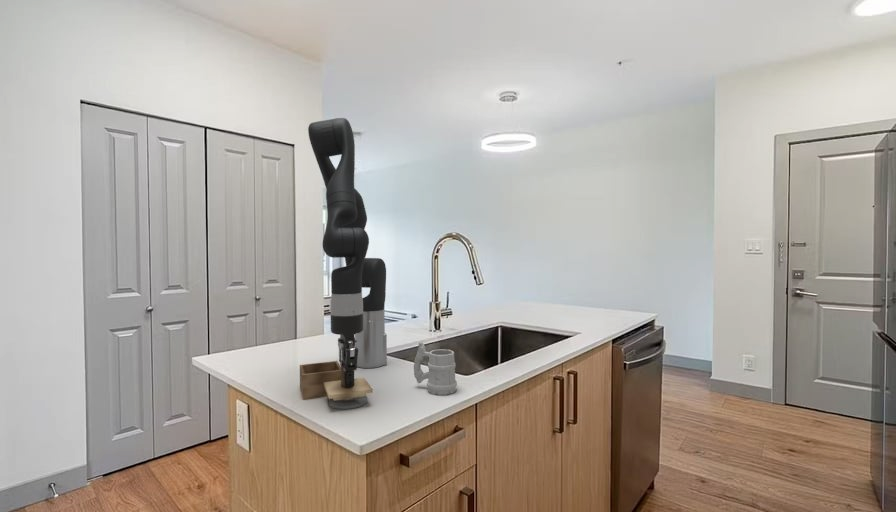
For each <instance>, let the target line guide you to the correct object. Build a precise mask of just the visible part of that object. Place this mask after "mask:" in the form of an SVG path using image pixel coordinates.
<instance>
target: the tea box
mask: <svg viewBox="0 0 896 512" xmlns="http://www.w3.org/2000/svg"><path fill="white" fill-rule="evenodd" d="M339 380H341V365H340V362H339V361H338V360H333V361H324V362H323V361H322V362H314V363H306V364H304V363H303V364H299V388H300V392H301V393H300V394H301V398H302V400H303V401H304V400H310V399H316V398H317V399H318V398H325V397H328V395H327V392H326V390H325V388H324V382H331V381H339Z"/></svg>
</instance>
